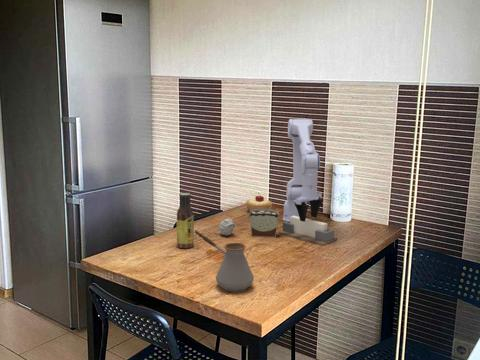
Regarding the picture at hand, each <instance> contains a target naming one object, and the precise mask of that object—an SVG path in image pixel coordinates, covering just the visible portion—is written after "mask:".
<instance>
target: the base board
mask: <svg viewBox="0 0 480 360" xmlns="http://www.w3.org/2000/svg"><path fill="white" fill-rule="evenodd" d="M278 234H279V235H281V236H286V237H289V238H293V239H297V240H301V241H304V242H308V243H311V244H316V245H318V246H326V245H327V244H330V243H332V242H335V241H337V240H338V237H336V236H334V239H332V240H330V241H327V242H322V241H319V240H315V238H314V237H310V236H306V235H302V234H298V233H295V232H293V233H288V232H285V231H283V230H280V231H279V232H278Z"/></svg>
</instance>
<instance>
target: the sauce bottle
mask: <svg viewBox="0 0 480 360" xmlns="http://www.w3.org/2000/svg"><path fill="white" fill-rule="evenodd" d="M191 197H192V195H191V193H189V192H181V193H179V207H178V208H177V211H176V245H177V248H179V249H190V248H192V247H193V246H194V241H195V240H194V239H195V236H194V235H195V233H194V232H195V231H194V230H195V229H194V228H195V226H194V225H195V221H194V219H195V217H194V216H195V214H194V212H193V210H192V206H191ZM193 233H194V234H193ZM192 235H193V236H192Z"/></svg>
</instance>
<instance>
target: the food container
mask: <svg viewBox="0 0 480 360" xmlns="http://www.w3.org/2000/svg"><path fill="white" fill-rule="evenodd" d="M247 217H248V218H249V220H250V222H249V223H250V230H251V234H250V235H251V237H252V238H273V239H274V238H277V237H276V236H277V229H278V222H279V219H281V218H280V217H281V215H280V212H279V211H278V210H275V209H255V210H252V211H250V212H249V213H248V215H247Z"/></svg>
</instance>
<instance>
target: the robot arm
mask: <svg viewBox="0 0 480 360" xmlns="http://www.w3.org/2000/svg"><path fill="white" fill-rule="evenodd" d="M313 131H314V121H313V120H312V119H311V118H309V119H308V118H305V119H303V118H300V119H299V118H298V119H295V118H293V119H292V118H289V120H288V123H287V137H288V139H289V140H291V141H292V142H291V143H292V150H293V151H292V153H293V154H292V162H293V163H292V166H293V167H292V170H293V171H292V173H293V174H292V175H293V177H292V179H290V180H288V182H287V183H286V191H285V192H286V194H285V195H286V200H285V202H283V203H284V204H283V218H282V221H284V222H286V221H289V220H290V217H291V216H298V217H299V218H300V221H304V222H305V220H306V219H307V214H308V213H307V212H308V209H309V207H310V216H311V218H317V217H318V213H319V210H320V208H321V206H322V204H323V202H324V199H323V198H322V197H323V194H322V193H321V192H318V176H319V174H318V170H319V169H320V166H321V158H320V154H319V153H318V152H317V151H316V148H315V143H314V142H313V141H311V135H312V133H313ZM308 202H309V204H307V203H308Z"/></svg>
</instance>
